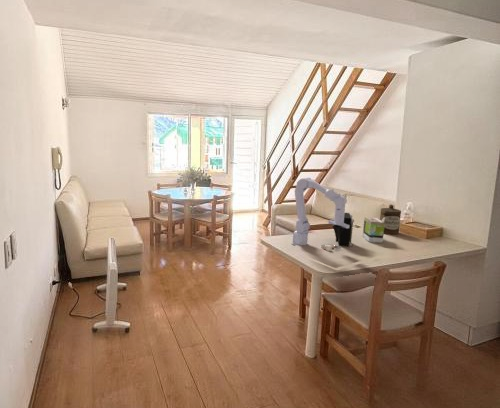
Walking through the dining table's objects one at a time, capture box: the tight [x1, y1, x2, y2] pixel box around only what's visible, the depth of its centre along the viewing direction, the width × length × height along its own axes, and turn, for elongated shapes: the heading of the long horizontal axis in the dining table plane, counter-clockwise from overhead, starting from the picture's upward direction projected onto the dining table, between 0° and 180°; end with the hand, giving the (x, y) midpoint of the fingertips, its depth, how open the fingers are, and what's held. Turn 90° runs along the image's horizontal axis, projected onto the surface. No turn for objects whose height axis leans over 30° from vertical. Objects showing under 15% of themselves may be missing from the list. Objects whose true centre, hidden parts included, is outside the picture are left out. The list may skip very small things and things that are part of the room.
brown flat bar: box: [322, 243, 338, 250], centre depth 219 cm, size 4×11×1 cm, turn 127°
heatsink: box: [320, 243, 342, 252], centre depth 219 cm, size 11×13×3 cm
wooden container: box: [379, 204, 402, 236], centre depth 270 cm, size 15×15×22 cm
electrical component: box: [335, 212, 355, 247], centre depth 232 cm, size 18×10×20 cm, turn 168°
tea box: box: [362, 217, 385, 243], centre depth 248 cm, size 15×10×15 cm
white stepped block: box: [324, 244, 333, 252], centre depth 215 cm, size 4×3×3 cm
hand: (337, 237), depth 213 cm, fingers closed
